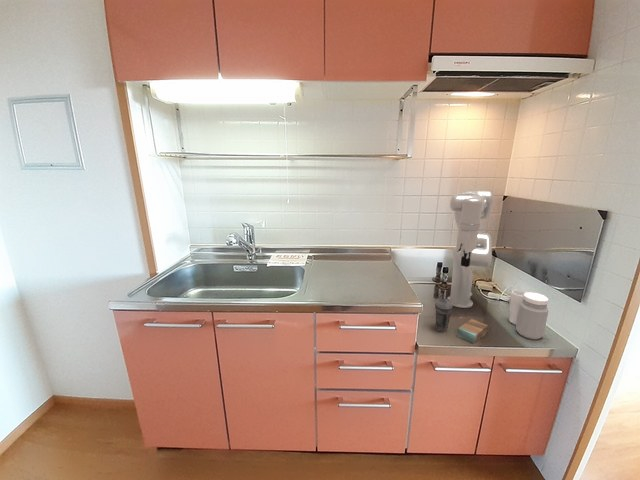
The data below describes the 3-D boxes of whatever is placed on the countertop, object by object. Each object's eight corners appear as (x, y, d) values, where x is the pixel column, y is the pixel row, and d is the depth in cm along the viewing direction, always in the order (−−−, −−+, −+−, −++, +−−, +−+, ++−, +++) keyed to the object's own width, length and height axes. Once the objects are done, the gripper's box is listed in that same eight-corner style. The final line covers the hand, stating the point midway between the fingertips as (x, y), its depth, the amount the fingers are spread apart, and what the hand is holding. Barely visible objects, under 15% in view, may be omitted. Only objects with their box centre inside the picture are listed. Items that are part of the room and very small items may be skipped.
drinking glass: (514, 317, 133) (518, 288, 129) (528, 324, 126) (533, 294, 123) (503, 320, 131) (508, 291, 127) (517, 327, 124) (522, 297, 121)
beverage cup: (449, 326, 127) (453, 286, 122) (450, 334, 121) (455, 293, 115) (432, 323, 130) (435, 284, 125) (433, 331, 123) (436, 291, 118)
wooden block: (471, 318, 126) (458, 328, 119) (488, 325, 120) (475, 335, 113) (470, 326, 127) (457, 336, 120) (487, 333, 121) (474, 343, 114)
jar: (549, 338, 116) (557, 300, 111) (529, 342, 114) (537, 303, 109) (527, 326, 125) (534, 290, 121) (509, 329, 123) (515, 292, 119)
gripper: (468, 222, 126) (464, 259, 131) (452, 228, 117) (448, 268, 122) (486, 224, 120) (481, 263, 126) (470, 231, 112) (465, 272, 117)
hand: (465, 265), depth 124 cm, fingers closed
